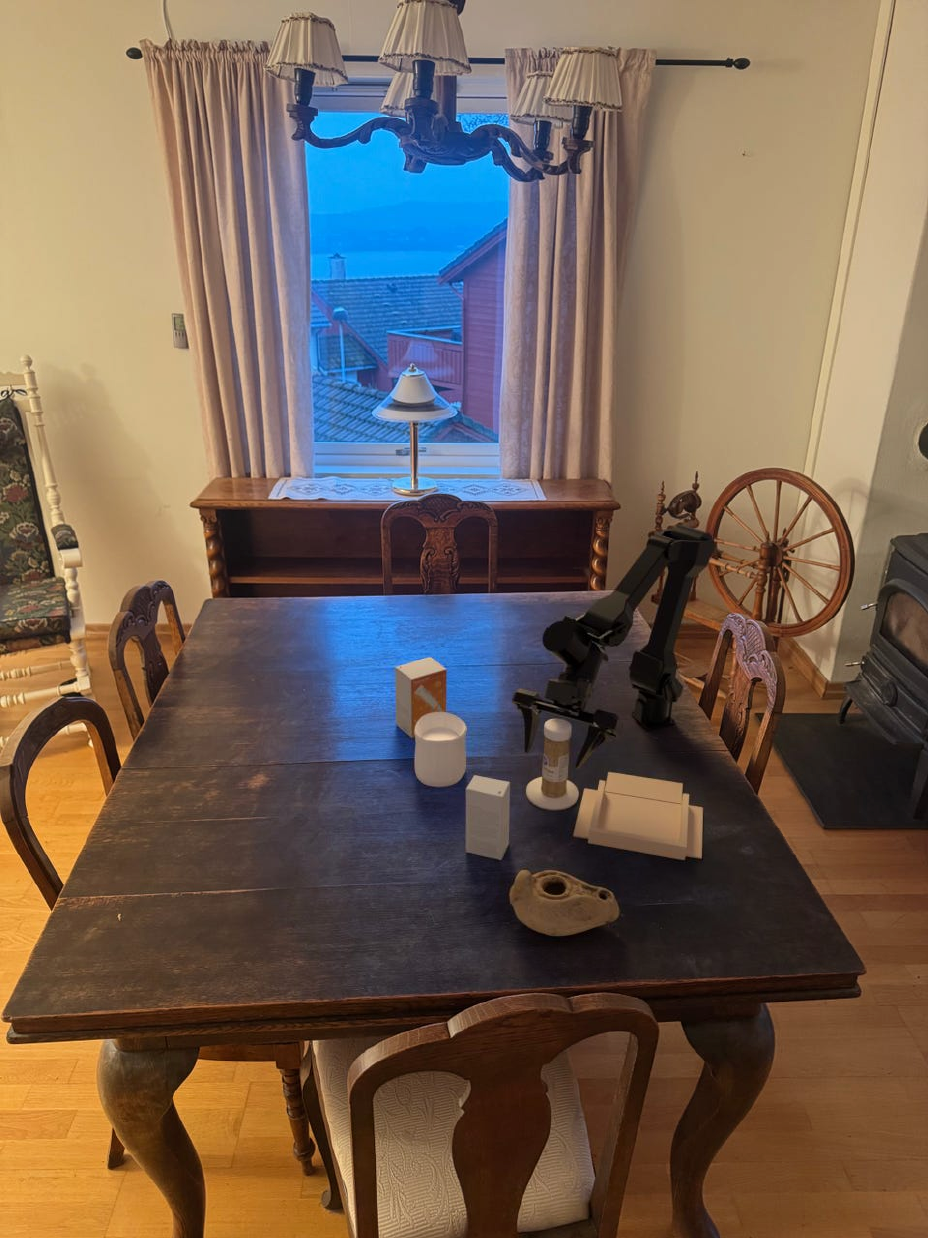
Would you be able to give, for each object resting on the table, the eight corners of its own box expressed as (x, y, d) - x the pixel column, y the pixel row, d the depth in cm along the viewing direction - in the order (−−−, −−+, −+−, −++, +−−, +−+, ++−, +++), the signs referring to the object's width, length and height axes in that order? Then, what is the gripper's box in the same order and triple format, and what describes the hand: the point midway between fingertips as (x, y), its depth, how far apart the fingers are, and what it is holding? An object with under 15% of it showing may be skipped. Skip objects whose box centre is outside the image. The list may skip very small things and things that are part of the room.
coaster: (563, 774, 151) (563, 771, 151) (587, 803, 144) (588, 800, 144) (517, 785, 148) (517, 782, 148) (540, 815, 141) (540, 812, 141)
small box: (411, 739, 162) (410, 679, 156) (395, 724, 166) (393, 666, 161) (447, 727, 166) (447, 668, 160) (430, 713, 171) (430, 655, 165)
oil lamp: (623, 949, 115) (628, 904, 111) (513, 952, 114) (514, 907, 111) (607, 892, 125) (612, 849, 121) (506, 894, 124) (507, 851, 121)
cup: (427, 795, 146) (426, 747, 142) (403, 765, 154) (402, 719, 150) (476, 780, 150) (476, 733, 146) (450, 752, 158) (450, 706, 154)
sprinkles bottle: (535, 789, 146) (538, 722, 141) (555, 780, 149) (559, 714, 143) (552, 802, 143) (557, 734, 137) (572, 793, 146) (577, 726, 140)
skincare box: (509, 844, 134) (511, 781, 129) (501, 861, 131) (503, 797, 126) (473, 836, 136) (473, 773, 131) (464, 852, 132) (464, 789, 127)
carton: (588, 770, 153) (589, 758, 152) (703, 788, 148) (704, 776, 147) (572, 840, 135) (573, 827, 134) (701, 863, 130) (703, 850, 129)
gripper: (517, 646, 143) (486, 732, 139) (623, 672, 135) (593, 764, 131) (535, 668, 153) (506, 750, 149) (634, 693, 145) (607, 780, 140)
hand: (551, 760), depth 142 cm, fingers open, 9 cm apart
